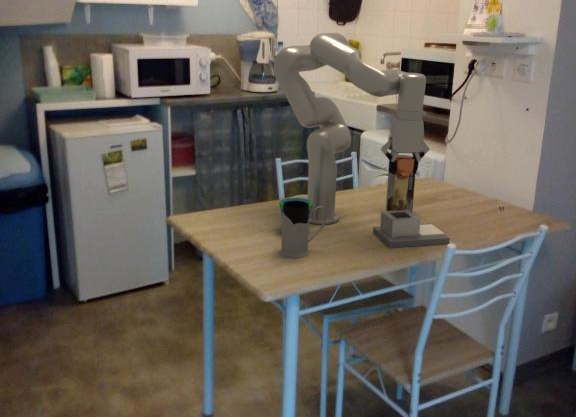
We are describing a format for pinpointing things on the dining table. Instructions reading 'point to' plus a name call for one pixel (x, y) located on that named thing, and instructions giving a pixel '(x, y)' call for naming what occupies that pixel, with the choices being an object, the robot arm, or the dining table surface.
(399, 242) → the charcoal board
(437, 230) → the cream pad
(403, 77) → the robot arm
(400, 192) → the copper headed peg
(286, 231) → the glass holder
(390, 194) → the coffee box
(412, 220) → the grey hollow socket block
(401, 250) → the dining table surface
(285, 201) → the snack cup
